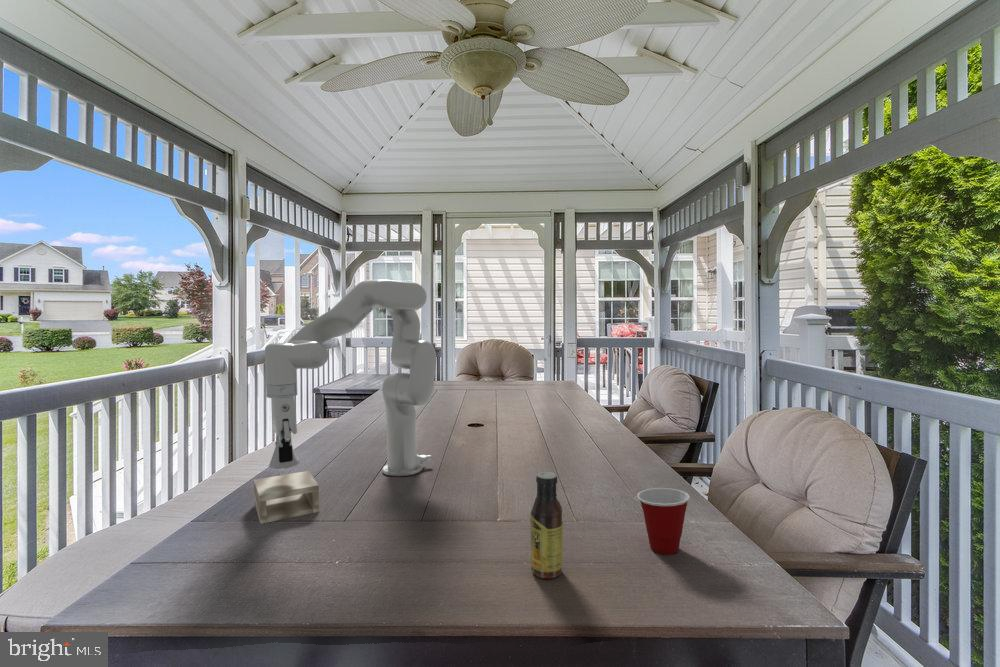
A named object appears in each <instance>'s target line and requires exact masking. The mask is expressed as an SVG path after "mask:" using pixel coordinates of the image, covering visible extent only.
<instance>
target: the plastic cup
mask: <svg viewBox="0 0 1000 667" xmlns="http://www.w3.org/2000/svg"><path fill="white" fill-rule="evenodd" d="M636 497H637V499H638V501H639V503H640V505H641V509H642V512H643V517H644V523H645V524H644V525H645V528H646V532H647V537H648V544H649V547H650V549H651V550H652V551H653V553H656V554H659V555H665V556H670V555H675V554H677V553H678V551H679V548H680V544H681V538H682V535H683V529H684V522H685V517H686V512H687V507H688V502H689V500H690V498H691V496H690V495H689V493H688V492H686V491H683V490H681V489H676V488H667V487H657V488H656V487H654V488H653V487H652V488H648V489H644V490H642V491H639V492H638V493H637V494H636Z"/></svg>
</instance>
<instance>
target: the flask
mask: <svg viewBox="0 0 1000 667" xmlns="http://www.w3.org/2000/svg"><path fill="white" fill-rule="evenodd" d="M281 435H284V432H283V433H281ZM283 438H284V437H282V439H283ZM279 447H280V441H279V436H278V437H277V444H276V443H275V446H274V451H273V453H272V456H271V459H270V462H269V465H268V468H271V469H274V470H275V469H288V468H292V467H295V466H297V465H299V463H300V460H299V457H298V455H297V454H296V451H295V448H294V447H293V445H292V454H293V460H292V461H289V462H283V463H280V462H279Z"/></svg>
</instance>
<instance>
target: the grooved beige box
mask: <svg viewBox="0 0 1000 667" xmlns="http://www.w3.org/2000/svg"><path fill="white" fill-rule="evenodd" d="M319 488H320V487H319V484H318V483H317V481H316V480H315V478H314V476H313V475H312V474H311V473H310V471H309V470H305V471H300V472H292V473H287V474H282V475H276V476H269V477H262V478H258V479H253V491H254V492H253V495H254V508H255V511H256V514H257V518H258V521H259V524H260V525H261V524H266V523H271V522H276V521H281V520H286V519H291V518H295V517H300V516H305V515H309V514H315V513H320V492H319V490H320V489H319Z"/></svg>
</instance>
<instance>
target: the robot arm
mask: <svg viewBox="0 0 1000 667" xmlns="http://www.w3.org/2000/svg"><path fill="white" fill-rule="evenodd" d="M426 292H427V291H426V290H425V288H424V287H423V286H422V285H421V284H419V283H417V282H411V281H410V282H409V281H400V280H394V279H393V280H392V279H380V278H379V279H367V280H363V281H361V282H358V284H356V285H355V286H354V287H353V288H352V289H351V290H350V291H348V293H347V294H346V295H345V296H343V297H342V298H341V300H339V301H338V302H337V303H336V304H335V305H334V306H333V307H332V308H331V309H329V310H328V311H326V312H325V313H323V314H321V315H320V316H318V317H317V318H316V319H314V320H312V321H310V322H309V323H307V324H306V325H304V326H303V327H302V328H300V330H298V331H297V332H296V333H295V334H294V335H293V336H292V337H291V338H290V339H288V341H287V342H275V343H274V342H273V343H270V344H267V345H266V347H264V348H265V349H264V363H265V365H264V366H265V369H264V370H265V387H266V388H265V394H266V398H269V399H270V400H271V419H272V420H271V422H272V430H273V432H274V433H275V445H276V444H277V437H278V436H279V441H280V447H279V462H280V463H283V462H289V461H292V460H293V454H292V446H293V444H292V434H293V435H296V434H297V433H298V429H297V428H298V427H297V414H296V413H297V412H296V411H297V410H296V401H295V396H298V373H297V372H298V371H297V370H298V369H302V370H303V369H304V370H307V369H308V370H315V369H316V370H317V369H319V368H322V367H323V366H324V365H325V364H326V363H328V360H329V354H330V352H329V350H328V348H327V346H326V345H325V343H327V342H328V341H330V340H332V339H335V338H338V337H342V336H344V335H346V334H349V333H351V332H353V331H354V330H355V329H356V328H357V327H358V326H359V325H360V324H361V323H362V322H363V321H364V320H365V318H367V317H368V316H369V315H370V314H371V312H372V311H374V310H375V309H386V310H387V311H388V313H389V315H390V316H391V318H392V322H393V332H392V333H393V334H392V341H391V349H390V362H391V364H393V366H394V367H396V368H397V369H398V368H399V369H402V370H409V372H408V373H406V372H394V373H391V374H389V375H387V377H385V379H384V381H383V383H382V388H381V390H382V396H383V400H384V406H385V415H386V416H385V419H386V420H385V421H386V422H385V423H386V456H387V458H386V459H387V460H386V461H387V464H385V465H384V466H383V467H382V473H383V474H385V475H387V476H391V477H407V476H412V475H415V474H418V473H420V472H421V471H422V470H423V464H424V463H425V462H426V463H428V462H431V461H432V460H433V458H432V455H431V454H428V455H425V454H421V455H419V453H418V440H417V439H418V435H417V433H418V431H417V413H416V409H415V406H417V407H418V406H420V407H421V406H424V405H426V404H428V402H429V401H430V400H431V398H432V397H433V396H432V395H433V394H434V393H433V392H434V386H435V379H436V378H435V377H436V369H437V368H436V367H437V352H436V348H435V347H434V345H433V344H432V343H431V342H430V341H428V340H424V339H420V335H421V321H420V318H419V315H418V313H417V311H418V310H420V309H422V308H423V307H424V305H425V304H426V302H427V293H426ZM283 432H284V435H281V433H283ZM282 437H284V438H283V439H282Z"/></svg>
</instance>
